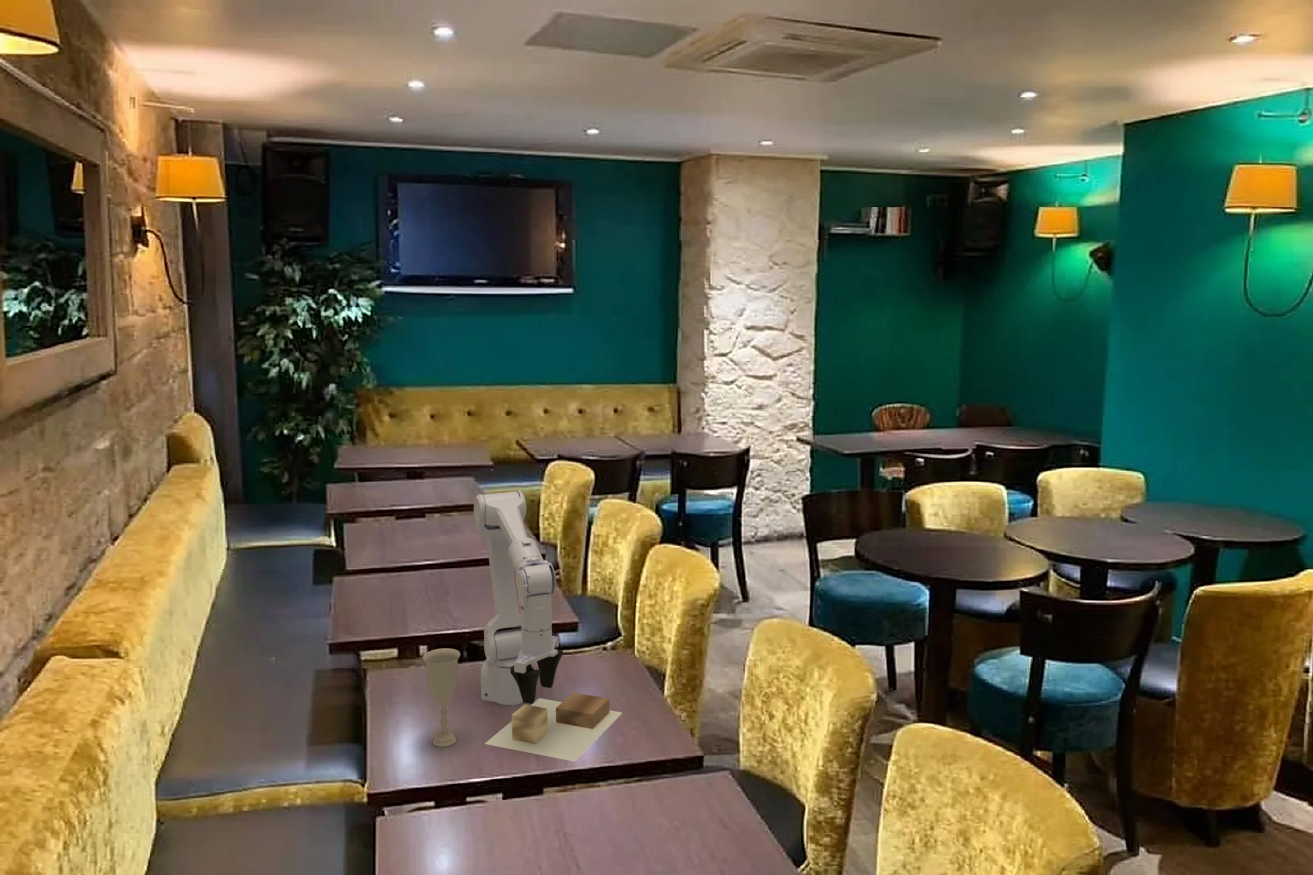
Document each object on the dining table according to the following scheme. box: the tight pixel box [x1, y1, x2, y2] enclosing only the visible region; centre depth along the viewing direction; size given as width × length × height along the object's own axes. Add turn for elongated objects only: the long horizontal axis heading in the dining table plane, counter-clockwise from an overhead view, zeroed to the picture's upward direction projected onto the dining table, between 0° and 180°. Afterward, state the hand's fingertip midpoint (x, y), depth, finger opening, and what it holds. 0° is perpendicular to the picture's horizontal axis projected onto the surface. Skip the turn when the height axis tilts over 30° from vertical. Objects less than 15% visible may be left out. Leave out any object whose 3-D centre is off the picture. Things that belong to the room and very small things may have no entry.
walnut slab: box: [556, 691, 610, 729], centre depth 200 cm, size 8×8×3 cm
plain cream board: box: [484, 697, 623, 763], centre depth 196 cm, size 19×22×1 cm
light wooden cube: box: [511, 703, 548, 744], centre depth 192 cm, size 5×5×5 cm
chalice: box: [422, 647, 461, 748], centre depth 189 cm, size 7×7×18 cm
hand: (537, 694), depth 192 cm, fingers open, 7 cm apart
